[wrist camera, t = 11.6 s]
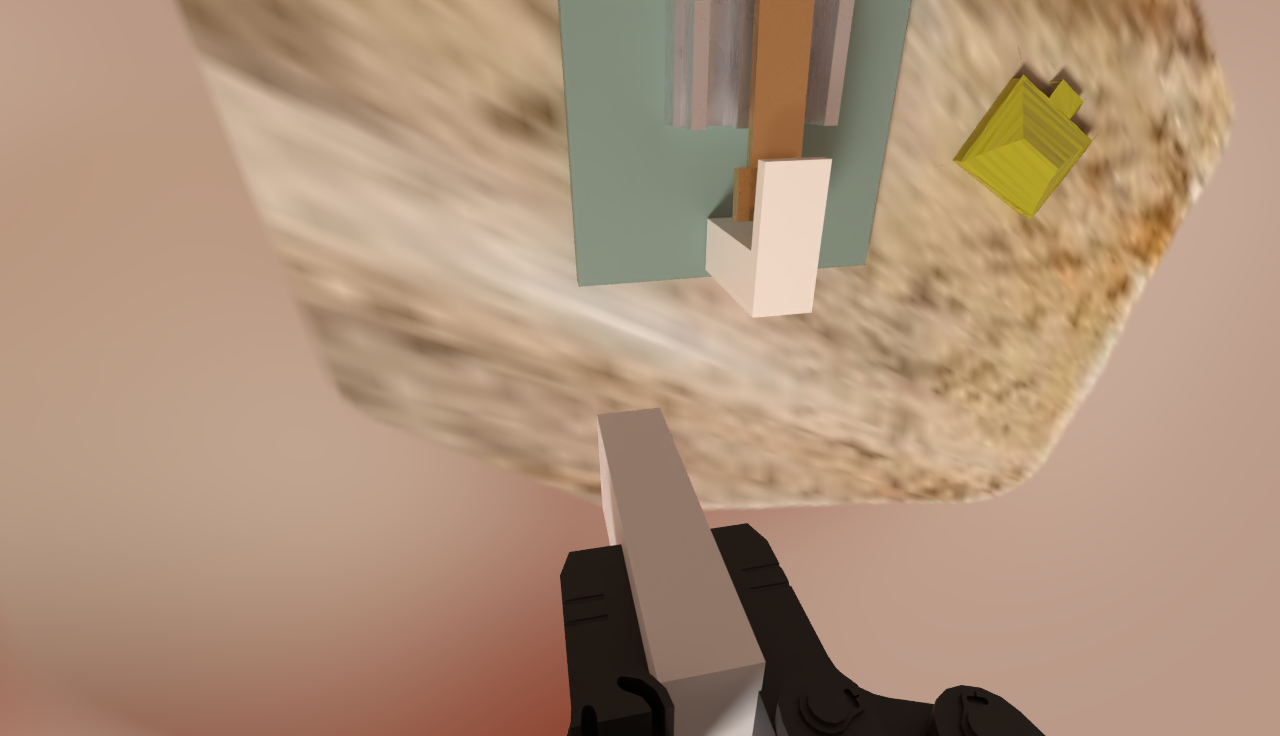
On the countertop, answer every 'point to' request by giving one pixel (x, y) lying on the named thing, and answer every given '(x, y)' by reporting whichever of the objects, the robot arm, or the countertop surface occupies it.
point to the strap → (775, 92)
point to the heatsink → (743, 62)
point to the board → (700, 144)
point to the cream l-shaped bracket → (774, 239)
